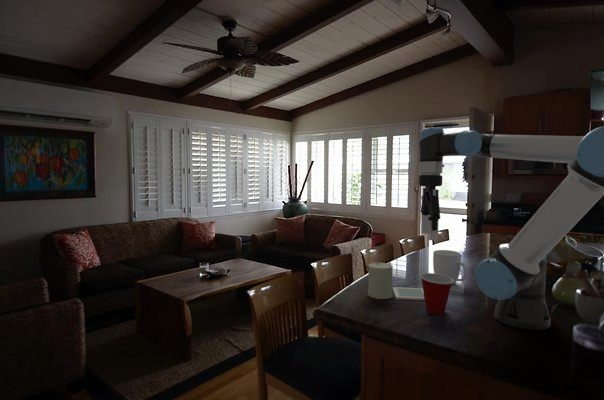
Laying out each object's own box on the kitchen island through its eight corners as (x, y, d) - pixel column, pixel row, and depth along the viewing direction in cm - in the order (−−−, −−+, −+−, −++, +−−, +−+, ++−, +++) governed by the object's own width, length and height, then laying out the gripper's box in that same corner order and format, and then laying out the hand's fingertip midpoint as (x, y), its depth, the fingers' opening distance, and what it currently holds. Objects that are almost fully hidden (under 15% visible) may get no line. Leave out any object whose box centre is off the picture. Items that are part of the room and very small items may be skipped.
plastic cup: (455, 319, 117) (456, 282, 116) (419, 316, 120) (420, 279, 119) (451, 307, 128) (452, 273, 127) (419, 304, 131) (419, 271, 130)
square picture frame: (429, 300, 135) (429, 298, 135) (396, 299, 137) (396, 296, 136) (423, 290, 147) (423, 288, 147) (392, 289, 148) (392, 286, 148)
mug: (474, 286, 152) (475, 254, 151) (458, 290, 146) (459, 258, 145) (443, 277, 164) (443, 248, 163) (427, 281, 158) (427, 251, 157)
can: (386, 290, 147) (387, 260, 146) (396, 298, 138) (397, 266, 137) (364, 291, 145) (364, 261, 144) (373, 299, 136) (373, 267, 135)
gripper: (451, 174, 112) (449, 243, 114) (434, 174, 137) (433, 231, 138) (425, 174, 113) (424, 243, 115) (413, 174, 138) (412, 230, 139)
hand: (429, 236), depth 126 cm, fingers open, 13 cm apart
